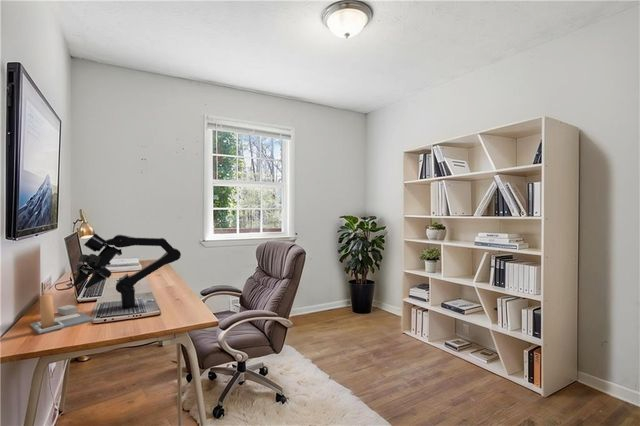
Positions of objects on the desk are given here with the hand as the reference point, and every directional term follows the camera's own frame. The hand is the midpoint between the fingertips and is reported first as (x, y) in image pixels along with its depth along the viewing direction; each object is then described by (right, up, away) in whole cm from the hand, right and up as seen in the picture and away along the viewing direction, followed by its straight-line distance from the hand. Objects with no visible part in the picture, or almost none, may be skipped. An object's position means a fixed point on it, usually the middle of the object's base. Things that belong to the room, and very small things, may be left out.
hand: (79, 286), depth 147 cm
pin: (-3, -13, -14) cm, 19 cm away
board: (-3, -14, -6) cm, 15 cm away
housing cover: (-11, -14, +8) cm, 19 cm away
